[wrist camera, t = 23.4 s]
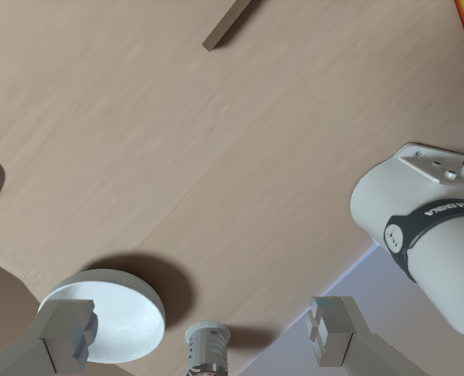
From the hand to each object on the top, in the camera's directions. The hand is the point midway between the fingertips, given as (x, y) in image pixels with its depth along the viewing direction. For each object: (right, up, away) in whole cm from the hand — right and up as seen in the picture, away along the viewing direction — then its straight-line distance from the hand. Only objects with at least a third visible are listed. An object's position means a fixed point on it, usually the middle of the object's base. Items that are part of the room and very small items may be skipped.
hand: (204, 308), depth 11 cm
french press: (-4, -27, +53) cm, 60 cm away
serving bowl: (-21, -16, +46) cm, 53 cm away
